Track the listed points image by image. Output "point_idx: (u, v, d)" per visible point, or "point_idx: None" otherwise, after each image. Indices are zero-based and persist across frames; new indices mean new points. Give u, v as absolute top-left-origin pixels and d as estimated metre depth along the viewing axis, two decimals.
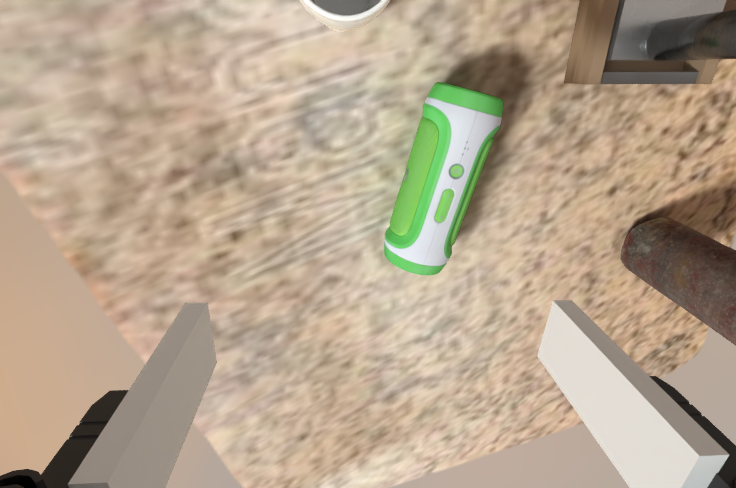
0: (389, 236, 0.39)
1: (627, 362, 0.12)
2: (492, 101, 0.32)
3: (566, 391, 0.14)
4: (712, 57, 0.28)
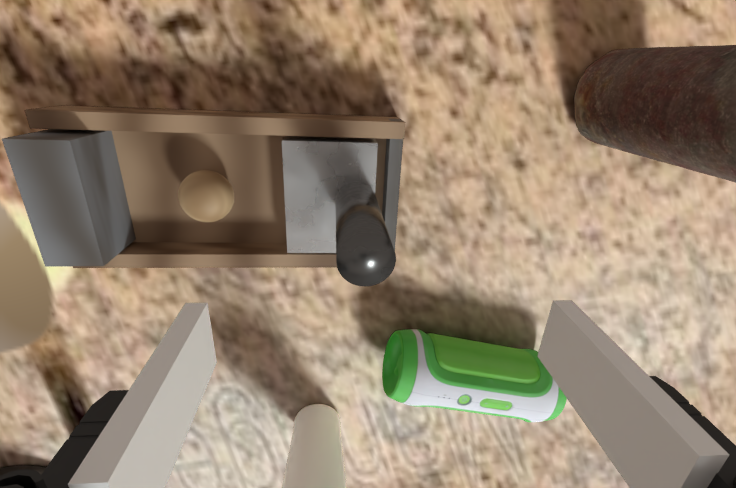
0: None
1: (627, 361, 0.12)
2: (404, 375, 0.35)
3: (566, 391, 0.14)
4: None
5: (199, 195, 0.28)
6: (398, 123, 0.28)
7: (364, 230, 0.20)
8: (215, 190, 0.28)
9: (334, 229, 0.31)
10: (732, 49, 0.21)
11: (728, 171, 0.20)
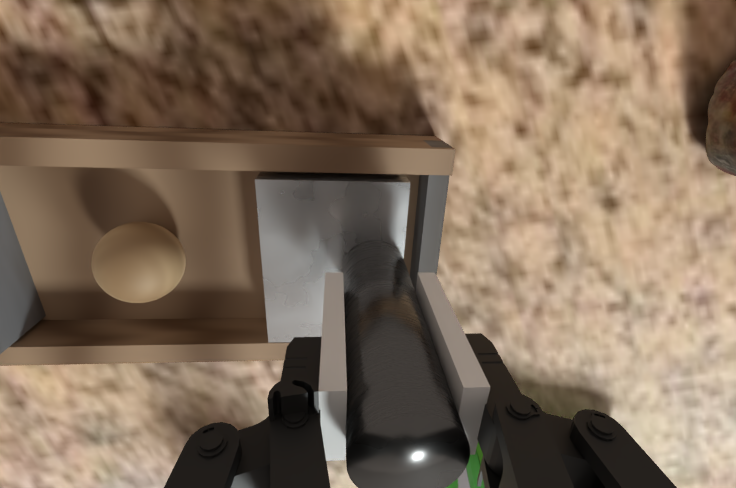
0: None
1: (451, 319, 0.13)
2: None
3: None
4: None
5: (121, 268, 0.17)
6: (444, 151, 0.17)
7: (405, 403, 0.09)
8: (148, 258, 0.17)
9: None
10: None
11: None
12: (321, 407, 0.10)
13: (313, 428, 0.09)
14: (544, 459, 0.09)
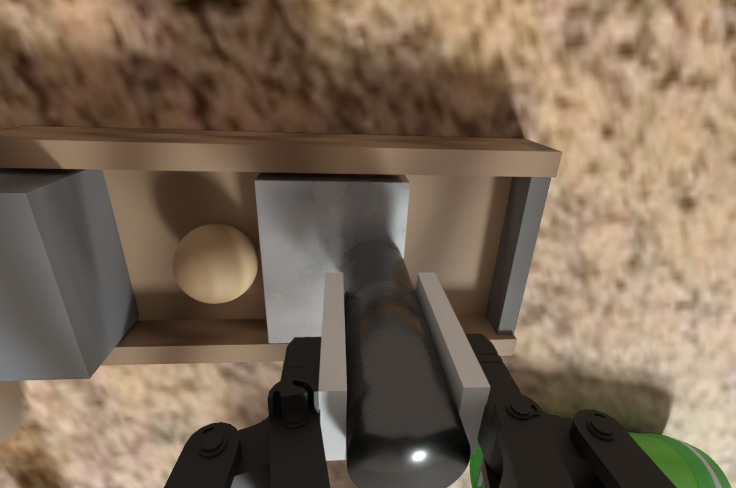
0: None
1: (451, 319, 0.13)
2: None
3: None
4: None
5: (180, 266, 0.17)
6: (551, 153, 0.18)
7: (406, 403, 0.09)
8: (202, 264, 0.17)
9: None
10: None
11: None
12: (321, 407, 0.10)
13: (313, 428, 0.09)
14: (545, 459, 0.09)
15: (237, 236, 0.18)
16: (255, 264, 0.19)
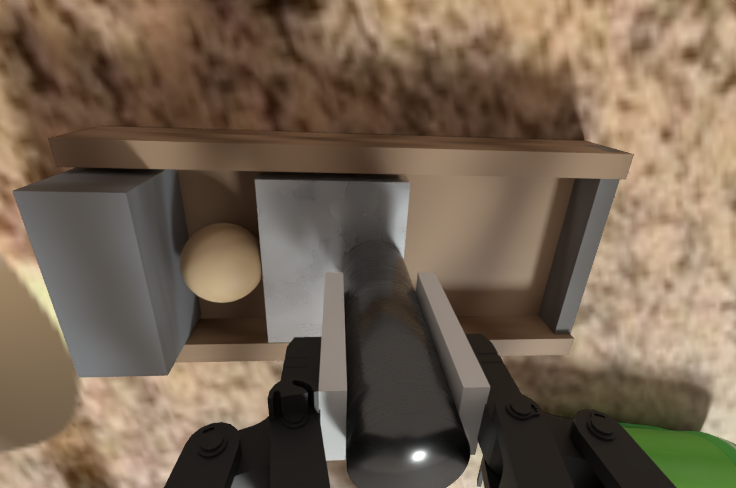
0: None
1: (451, 319, 0.13)
2: None
3: None
4: None
5: None
6: (623, 156, 0.18)
7: (405, 403, 0.09)
8: None
9: None
10: None
11: None
12: (321, 407, 0.10)
13: (313, 428, 0.09)
14: (544, 459, 0.09)
15: (207, 244, 0.17)
16: (203, 280, 0.17)
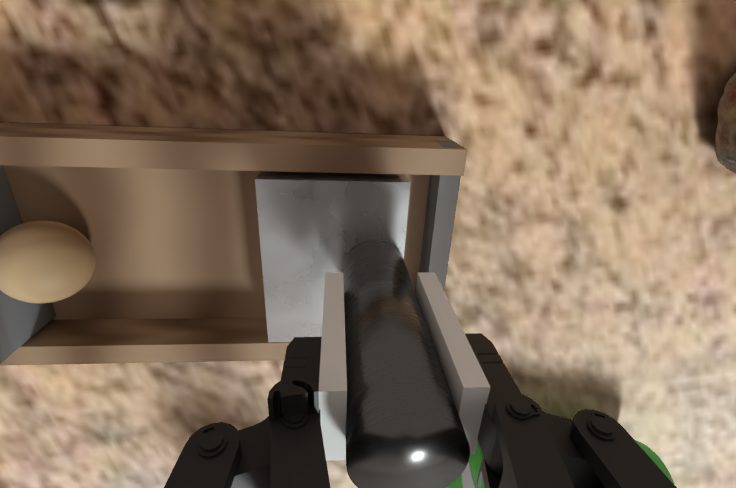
0: None
1: (451, 319, 0.13)
2: None
3: None
4: None
5: None
6: (456, 151, 0.17)
7: (405, 403, 0.09)
8: None
9: None
10: None
11: None
12: (321, 407, 0.10)
13: (313, 428, 0.09)
14: (544, 459, 0.09)
15: (5, 241, 0.17)
16: None
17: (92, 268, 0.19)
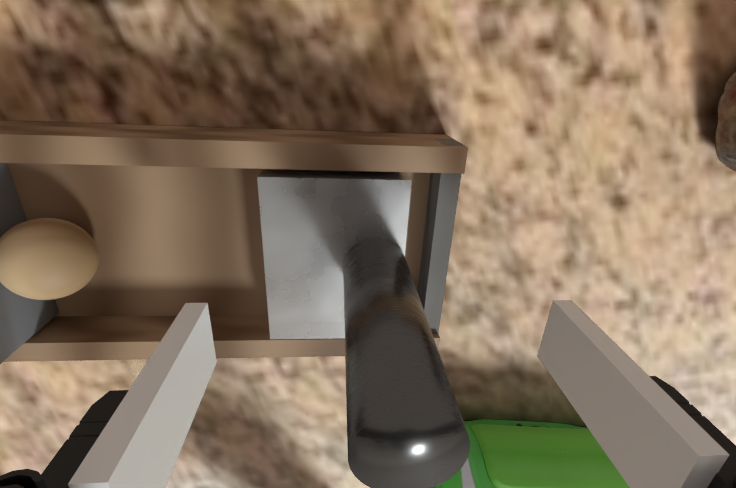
0: None
1: (627, 362, 0.12)
2: None
3: (566, 391, 0.14)
4: None
5: None
6: (456, 149, 0.17)
7: (407, 397, 0.10)
8: None
9: (341, 306, 0.20)
10: None
11: None
12: None
13: None
14: None
15: (10, 238, 0.17)
16: (2, 275, 0.17)
17: (95, 265, 0.19)
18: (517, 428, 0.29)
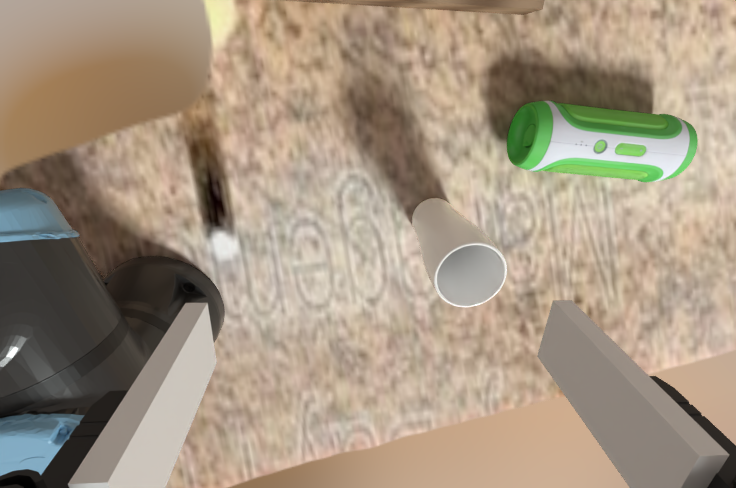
0: (642, 180, 0.42)
1: (627, 361, 0.12)
2: (541, 126, 0.37)
3: (566, 391, 0.14)
4: None
5: None
6: None
7: None
8: None
9: None
10: None
11: None
12: None
13: None
14: None
15: None
16: None
17: None
18: None
